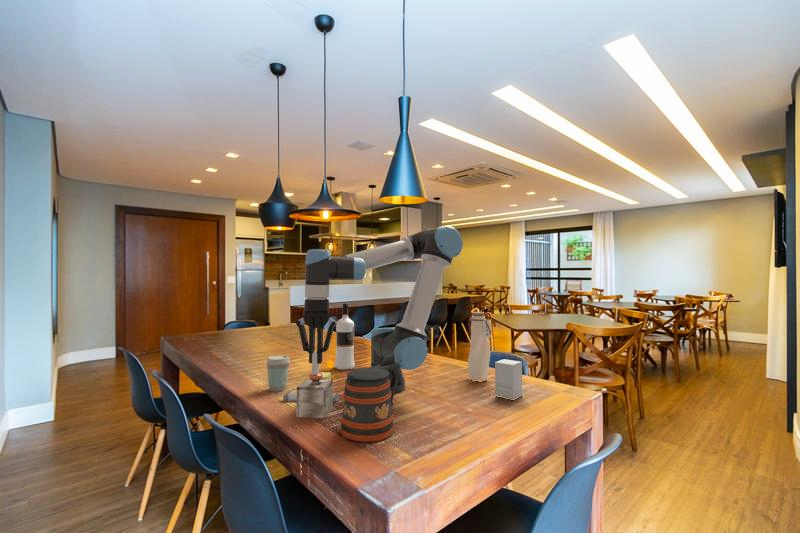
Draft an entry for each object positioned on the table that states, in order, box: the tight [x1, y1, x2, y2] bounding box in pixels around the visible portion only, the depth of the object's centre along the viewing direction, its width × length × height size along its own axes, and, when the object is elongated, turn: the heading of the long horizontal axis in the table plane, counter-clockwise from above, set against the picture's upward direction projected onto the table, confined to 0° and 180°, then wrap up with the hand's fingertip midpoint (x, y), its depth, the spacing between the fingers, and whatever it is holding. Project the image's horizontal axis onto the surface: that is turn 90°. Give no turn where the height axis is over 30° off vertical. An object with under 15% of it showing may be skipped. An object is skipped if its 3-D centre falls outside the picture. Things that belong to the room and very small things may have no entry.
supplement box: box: [494, 358, 523, 399], centre depth 138 cm, size 7×7×13 cm
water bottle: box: [467, 311, 492, 380], centre depth 161 cm, size 10×9×28 cm
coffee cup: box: [265, 354, 291, 393], centre depth 144 cm, size 8×9×12 cm
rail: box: [282, 391, 340, 404], centre depth 132 cm, size 18×5×2 cm, turn 87°
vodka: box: [334, 302, 356, 371], centre depth 179 cm, size 9×9×30 cm
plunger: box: [308, 373, 322, 385], centre depth 121 cm, size 4×4×5 cm
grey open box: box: [295, 378, 334, 419], centre depth 120 cm, size 9×9×9 cm
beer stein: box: [339, 354, 400, 443], centre depth 108 cm, size 19×15×20 cm
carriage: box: [319, 371, 332, 380], centre depth 132 cm, size 5×6×8 cm
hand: (315, 373), depth 121 cm, fingers closed
